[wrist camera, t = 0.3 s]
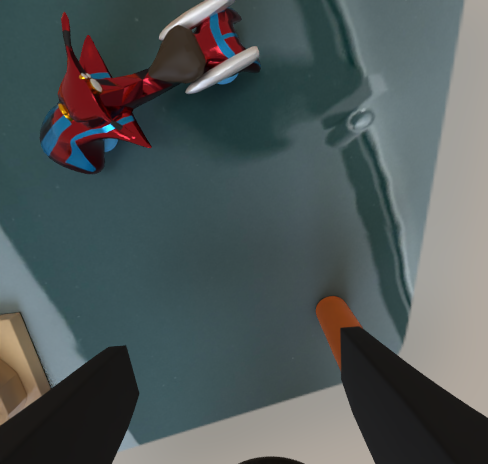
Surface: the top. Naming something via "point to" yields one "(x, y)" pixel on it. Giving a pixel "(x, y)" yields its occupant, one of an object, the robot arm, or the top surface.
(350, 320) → the marker
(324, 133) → the top surface
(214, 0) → the hoverbike
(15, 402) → the button housing
